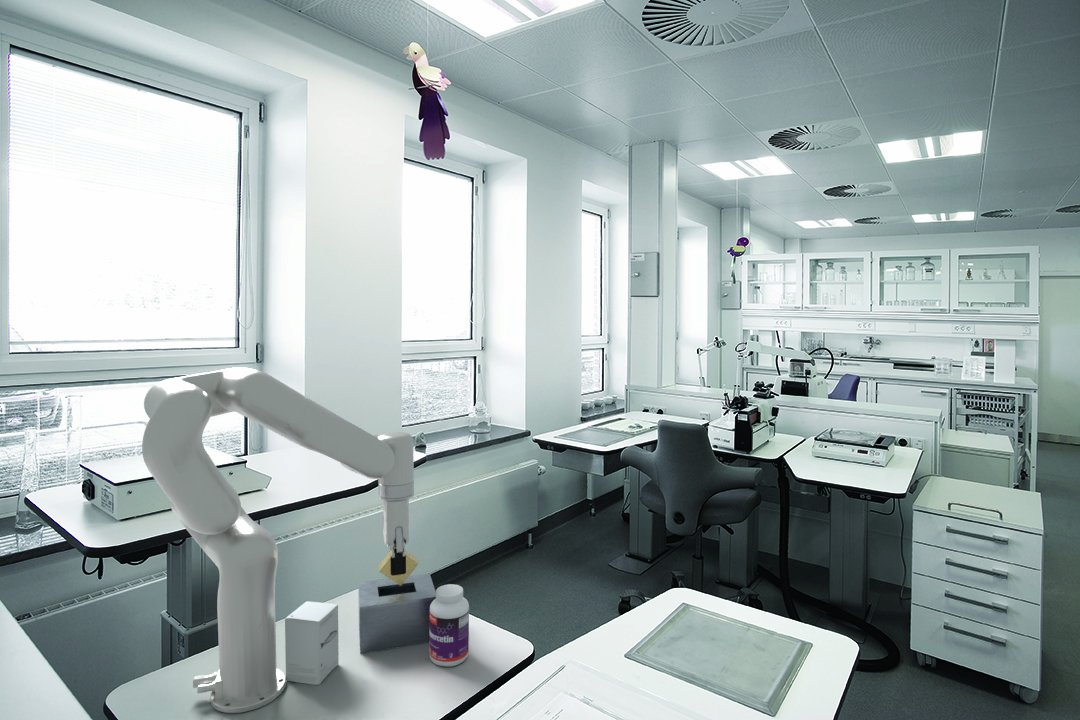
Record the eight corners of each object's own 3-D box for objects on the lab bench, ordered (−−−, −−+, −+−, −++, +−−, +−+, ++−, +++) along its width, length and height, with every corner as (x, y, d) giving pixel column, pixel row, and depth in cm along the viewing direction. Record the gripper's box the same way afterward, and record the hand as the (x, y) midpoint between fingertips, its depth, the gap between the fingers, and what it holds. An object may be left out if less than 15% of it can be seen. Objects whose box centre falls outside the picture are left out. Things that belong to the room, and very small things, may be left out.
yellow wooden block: (400, 586, 129) (379, 571, 128) (399, 580, 132) (378, 565, 131) (418, 563, 130) (397, 548, 129) (417, 558, 133) (396, 543, 131)
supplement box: (319, 686, 112) (318, 621, 111) (284, 681, 114) (283, 617, 113) (340, 664, 119) (339, 603, 119) (307, 659, 121) (305, 599, 120)
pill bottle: (421, 662, 120) (420, 593, 119) (445, 643, 127) (445, 578, 126) (453, 673, 117) (453, 602, 116) (476, 653, 124) (476, 586, 123)
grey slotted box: (360, 653, 123) (359, 607, 122) (358, 625, 134) (358, 582, 134) (437, 641, 128) (437, 596, 127) (429, 614, 140) (429, 573, 139)
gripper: (376, 480, 136) (378, 558, 137) (380, 502, 120) (382, 589, 122) (409, 478, 138) (411, 554, 139) (418, 498, 123) (419, 584, 124)
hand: (397, 570), depth 130 cm, fingers closed on yellow wooden block, 2 cm apart
